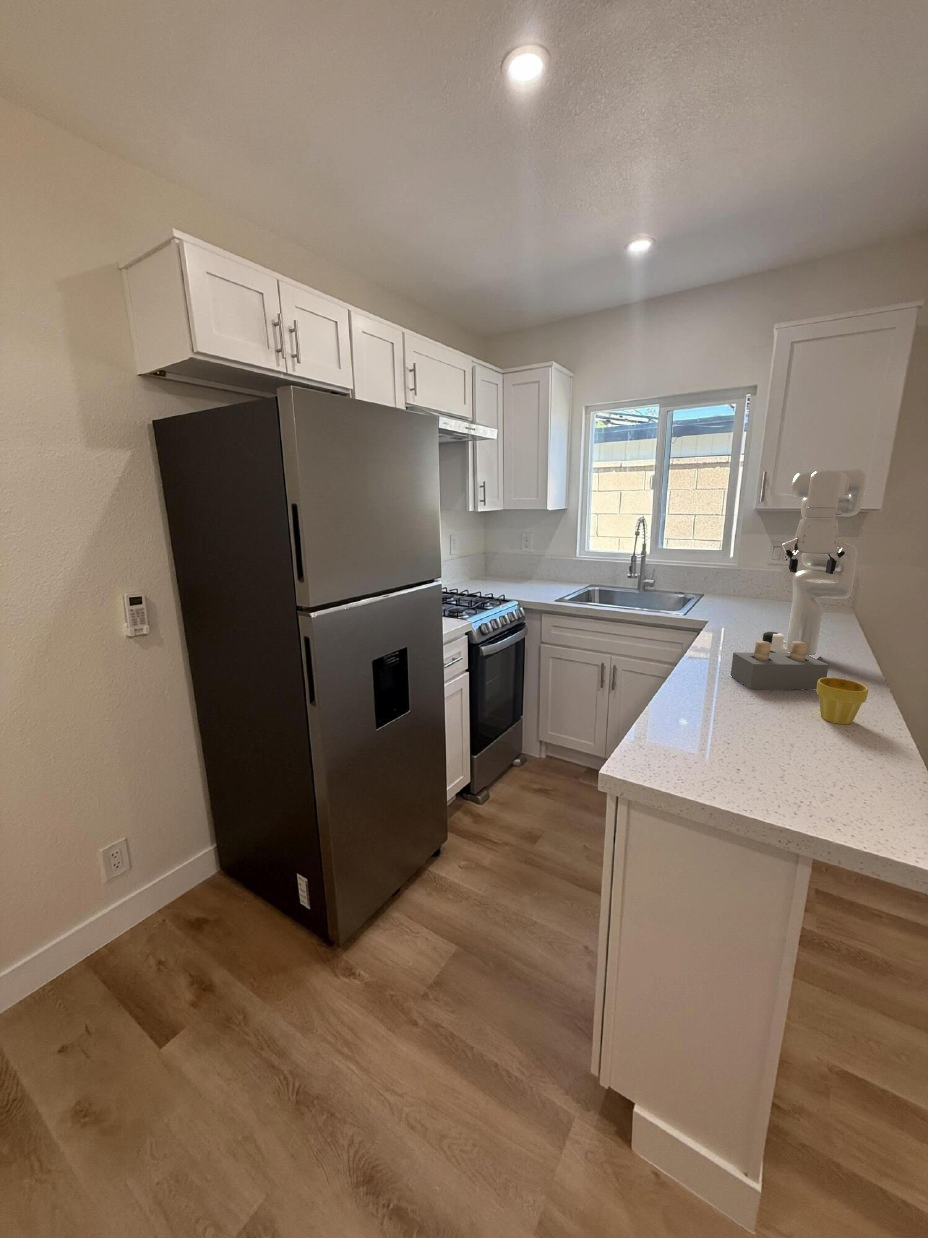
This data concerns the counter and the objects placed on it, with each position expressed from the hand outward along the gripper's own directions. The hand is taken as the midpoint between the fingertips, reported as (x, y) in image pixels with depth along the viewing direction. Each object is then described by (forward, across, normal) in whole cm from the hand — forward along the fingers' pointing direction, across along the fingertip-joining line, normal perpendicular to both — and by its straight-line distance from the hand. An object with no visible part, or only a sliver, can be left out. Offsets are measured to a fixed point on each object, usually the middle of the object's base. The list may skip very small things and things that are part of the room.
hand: (810, 572), depth 149 cm
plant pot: (+35, +1, +29) cm, 45 cm away
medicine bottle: (+34, +2, -15) cm, 37 cm away
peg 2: (+28, 0, +1) cm, 28 cm away
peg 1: (+29, +11, +4) cm, 31 cm away
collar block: (+34, +6, +2) cm, 35 cm away
